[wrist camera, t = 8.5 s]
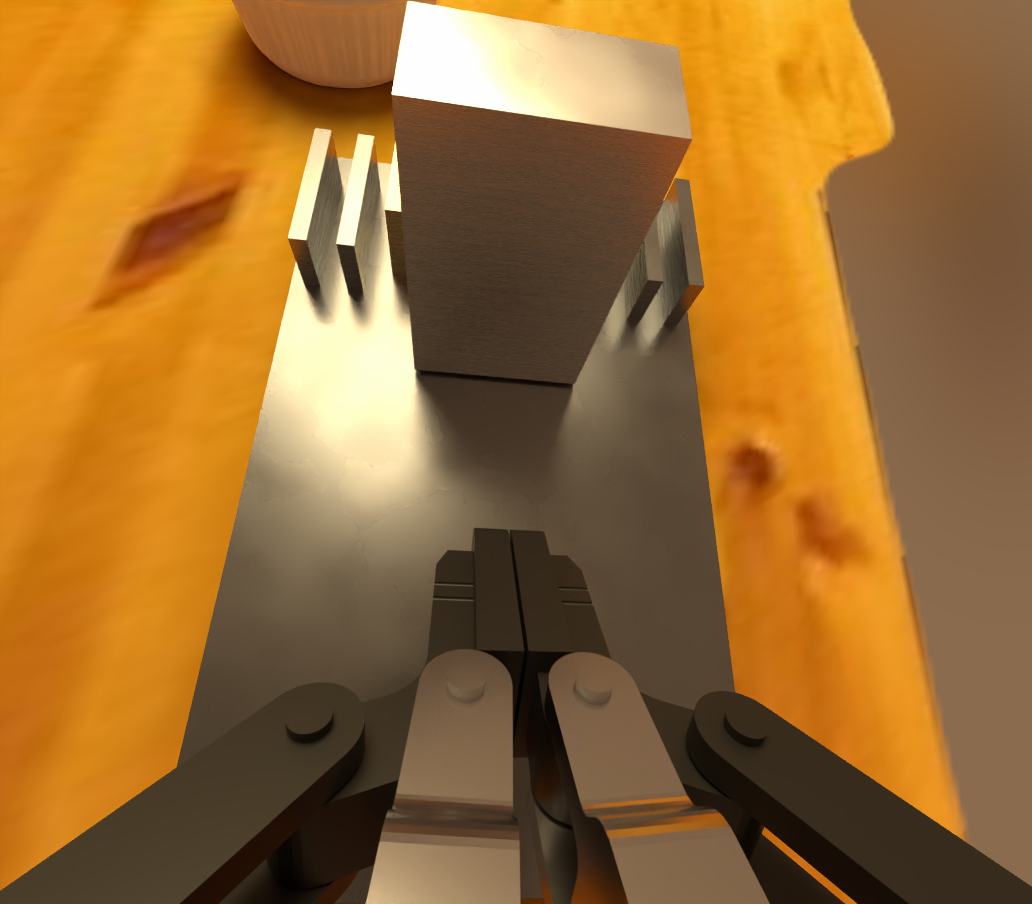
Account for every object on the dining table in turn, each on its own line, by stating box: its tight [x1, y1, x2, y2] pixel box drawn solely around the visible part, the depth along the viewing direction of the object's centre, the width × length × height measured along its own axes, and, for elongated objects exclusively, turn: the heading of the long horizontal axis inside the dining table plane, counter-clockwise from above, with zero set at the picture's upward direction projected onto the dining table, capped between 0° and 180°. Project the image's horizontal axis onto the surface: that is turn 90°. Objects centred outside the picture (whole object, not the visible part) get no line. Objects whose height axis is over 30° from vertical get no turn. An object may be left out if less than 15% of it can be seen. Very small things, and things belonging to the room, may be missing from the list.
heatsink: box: [177, 128, 735, 904], centre depth 18 cm, size 26×16×5 cm, turn 179°
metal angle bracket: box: [392, 1, 692, 384], centre depth 17 cm, size 11×6×10 cm, turn 179°
